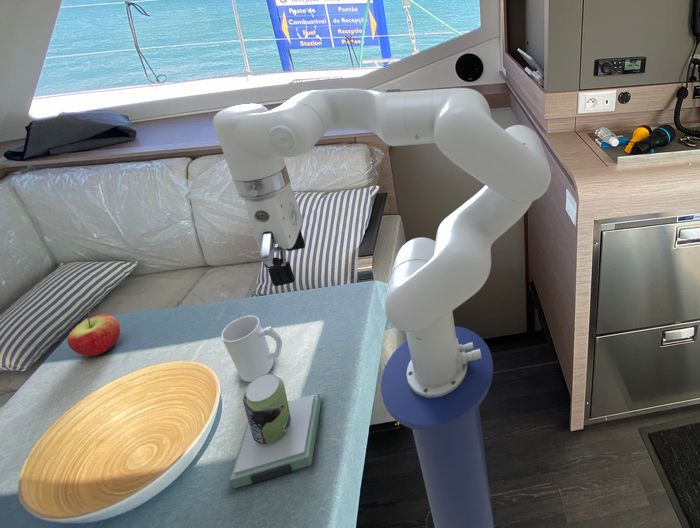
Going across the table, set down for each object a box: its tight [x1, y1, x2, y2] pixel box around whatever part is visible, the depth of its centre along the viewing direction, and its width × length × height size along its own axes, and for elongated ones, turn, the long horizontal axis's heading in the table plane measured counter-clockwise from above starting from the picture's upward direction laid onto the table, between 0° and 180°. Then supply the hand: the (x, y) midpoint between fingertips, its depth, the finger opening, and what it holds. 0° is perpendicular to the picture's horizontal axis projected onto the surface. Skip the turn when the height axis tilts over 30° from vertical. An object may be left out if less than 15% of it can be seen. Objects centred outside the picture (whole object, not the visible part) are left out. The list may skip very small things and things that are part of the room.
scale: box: [229, 393, 322, 489], centre depth 75 cm, size 12×12×3 cm
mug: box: [220, 315, 283, 383], centre depth 87 cm, size 10×7×12 cm, turn 98°
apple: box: [67, 310, 121, 357], centre depth 95 cm, size 8×8×10 cm
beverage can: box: [242, 373, 291, 444], centre depth 72 cm, size 6×7×12 cm
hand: (290, 265), depth 74 cm, fingers open, 9 cm apart
